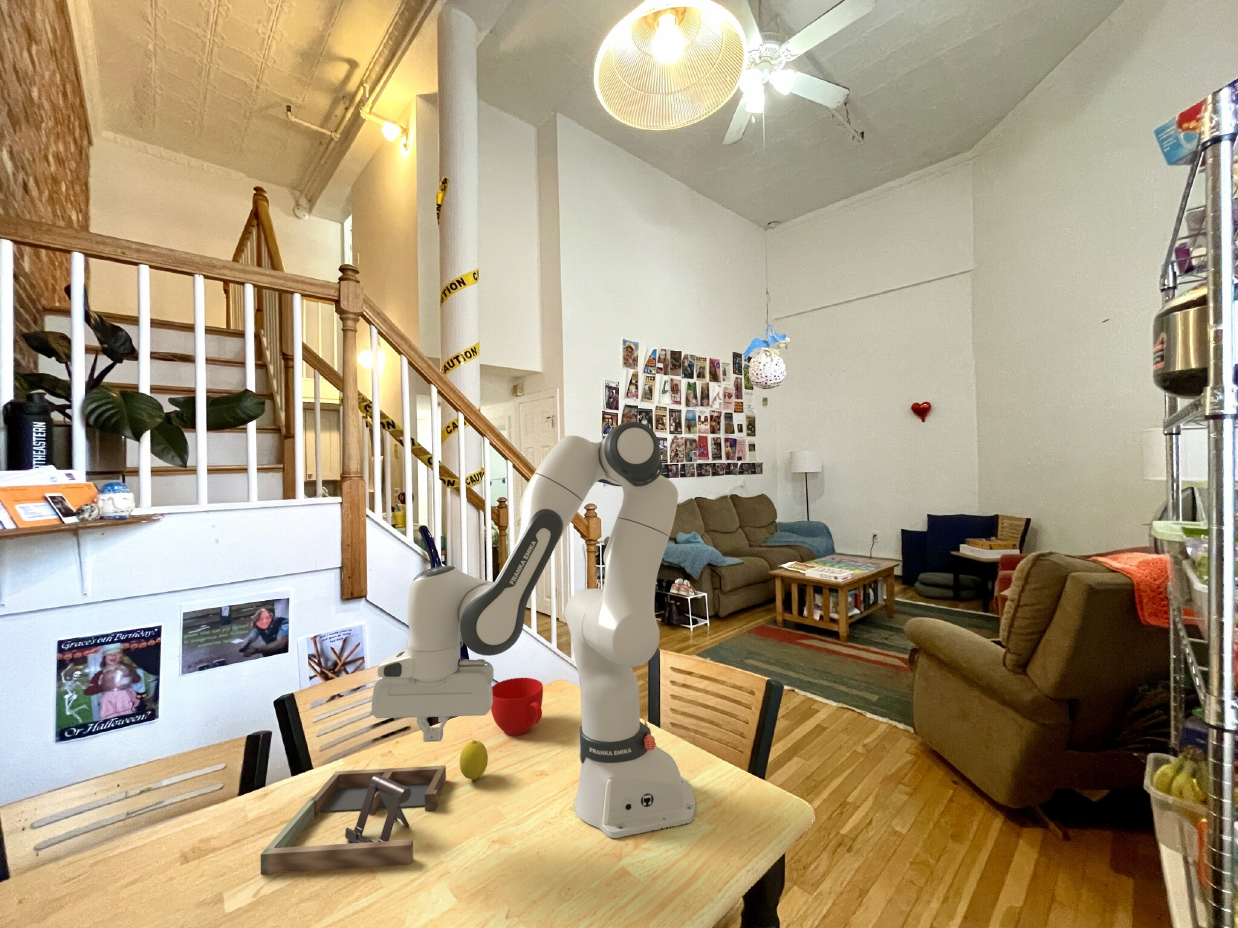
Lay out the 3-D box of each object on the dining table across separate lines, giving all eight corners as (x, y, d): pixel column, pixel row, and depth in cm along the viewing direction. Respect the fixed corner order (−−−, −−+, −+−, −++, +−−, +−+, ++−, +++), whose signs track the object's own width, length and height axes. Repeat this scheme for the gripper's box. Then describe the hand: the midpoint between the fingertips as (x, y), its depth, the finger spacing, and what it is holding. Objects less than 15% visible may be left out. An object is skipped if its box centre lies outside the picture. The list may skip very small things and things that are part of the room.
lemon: (480, 789, 100) (479, 748, 101) (454, 786, 101) (454, 746, 102) (492, 773, 106) (492, 734, 106) (468, 770, 107) (467, 732, 107)
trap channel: (449, 779, 104) (449, 765, 104) (410, 863, 81) (410, 844, 81) (333, 786, 102) (333, 771, 102) (260, 873, 80) (260, 854, 80)
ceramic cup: (516, 755, 112) (515, 710, 113) (480, 728, 125) (479, 687, 125) (563, 734, 121) (562, 692, 121) (525, 711, 134) (525, 673, 134)
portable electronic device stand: (344, 841, 87) (344, 791, 87) (385, 814, 94) (385, 768, 94) (376, 860, 82) (375, 807, 83) (417, 830, 89) (416, 782, 89)
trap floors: (438, 783, 102) (438, 782, 102) (426, 806, 95) (426, 804, 95) (339, 789, 101) (339, 787, 101) (320, 812, 94) (320, 810, 94)
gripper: (496, 652, 93) (496, 729, 92) (383, 655, 92) (382, 732, 91) (489, 665, 87) (489, 747, 86) (367, 668, 86) (366, 751, 85)
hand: (433, 739), depth 89 cm, fingers closed
